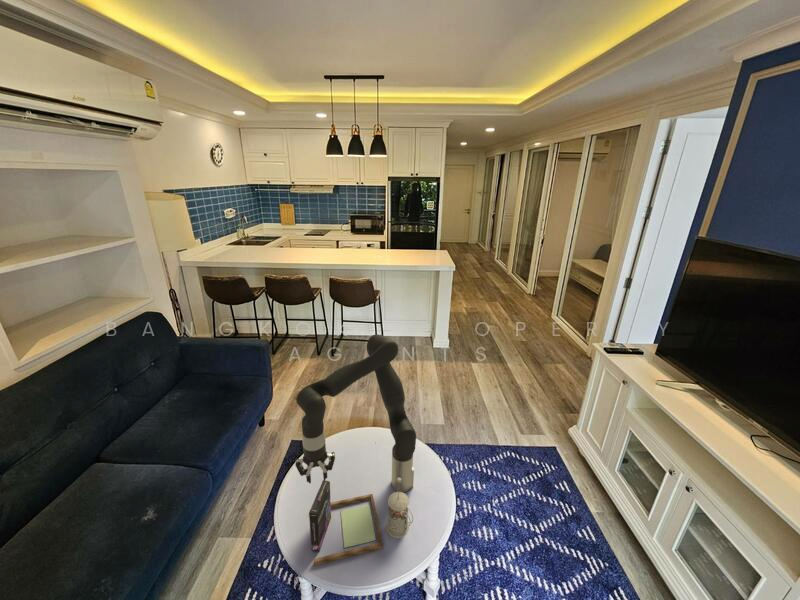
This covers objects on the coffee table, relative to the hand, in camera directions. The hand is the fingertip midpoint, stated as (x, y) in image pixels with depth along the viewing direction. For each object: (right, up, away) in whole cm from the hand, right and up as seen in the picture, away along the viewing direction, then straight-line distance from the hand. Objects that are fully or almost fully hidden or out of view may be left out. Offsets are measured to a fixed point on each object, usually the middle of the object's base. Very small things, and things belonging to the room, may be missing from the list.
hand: (317, 479), depth 118 cm
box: (0, -26, +9) cm, 28 cm away
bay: (+9, -25, +11) cm, 29 cm away
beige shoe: (+30, -26, +12) cm, 41 cm away
